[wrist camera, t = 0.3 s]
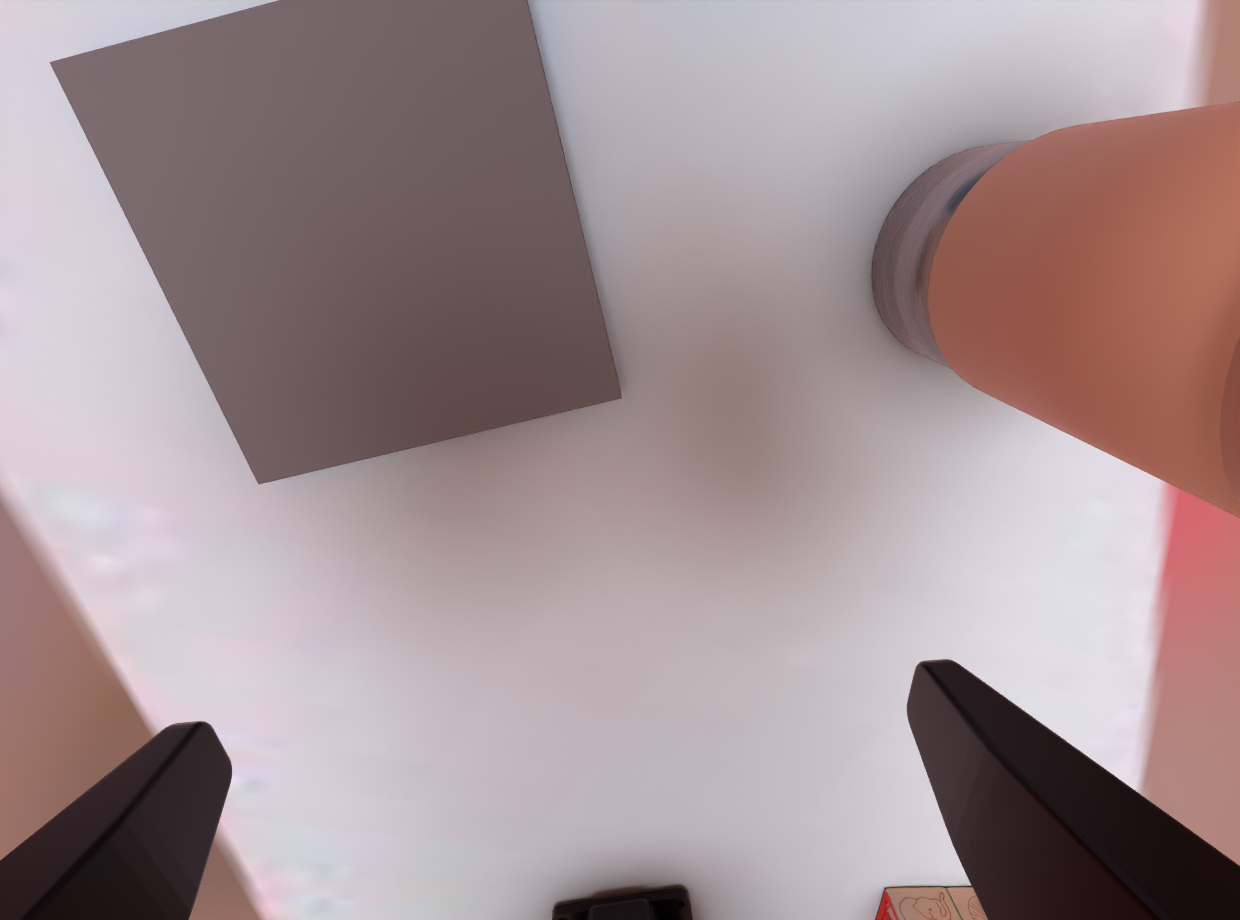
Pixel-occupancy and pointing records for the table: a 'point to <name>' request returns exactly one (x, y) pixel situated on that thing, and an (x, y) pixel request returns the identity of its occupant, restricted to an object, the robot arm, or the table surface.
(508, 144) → the charcoal mat
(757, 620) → the table surface
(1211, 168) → the terracotta canister
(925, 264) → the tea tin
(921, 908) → the stack of blocks
